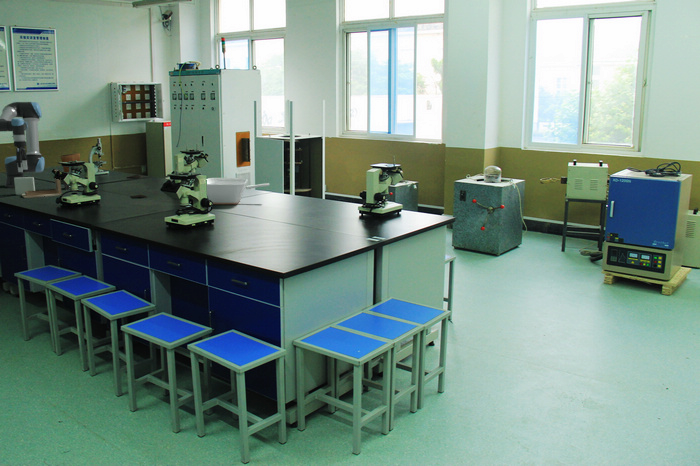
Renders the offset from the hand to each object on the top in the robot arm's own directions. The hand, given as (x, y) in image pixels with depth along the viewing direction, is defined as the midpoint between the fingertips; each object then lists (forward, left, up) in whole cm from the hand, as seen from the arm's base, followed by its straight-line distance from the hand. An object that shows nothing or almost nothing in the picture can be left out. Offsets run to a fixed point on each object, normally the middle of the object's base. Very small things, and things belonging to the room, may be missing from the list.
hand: (23, 170), depth 427 cm
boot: (-10, +39, -17) cm, 44 cm away
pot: (+106, +116, -17) cm, 158 cm away
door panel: (0, 0, -17) cm, 17 cm away
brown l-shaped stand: (+10, +9, -17) cm, 22 cm away
